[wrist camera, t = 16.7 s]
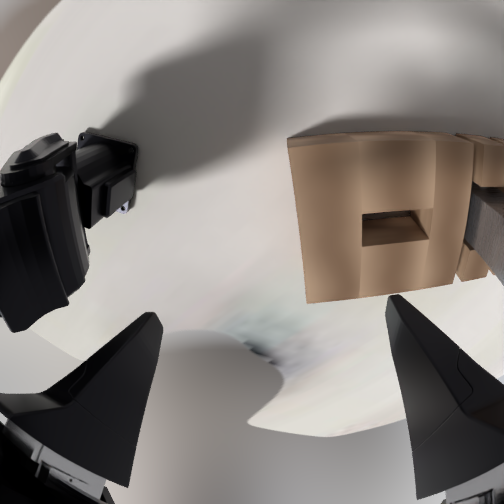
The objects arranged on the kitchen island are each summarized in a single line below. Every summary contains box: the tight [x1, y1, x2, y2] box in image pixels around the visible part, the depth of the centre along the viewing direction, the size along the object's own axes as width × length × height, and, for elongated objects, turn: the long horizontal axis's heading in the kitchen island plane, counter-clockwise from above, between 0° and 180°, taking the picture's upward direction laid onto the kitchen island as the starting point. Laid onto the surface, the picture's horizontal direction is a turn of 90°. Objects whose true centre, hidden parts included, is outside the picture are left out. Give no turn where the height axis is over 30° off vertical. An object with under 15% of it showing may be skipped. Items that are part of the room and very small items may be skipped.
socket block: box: [287, 131, 504, 304], centre depth 17 cm, size 22×12×4 cm, turn 101°
